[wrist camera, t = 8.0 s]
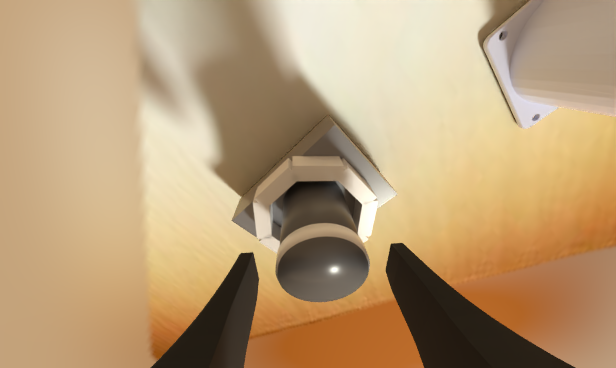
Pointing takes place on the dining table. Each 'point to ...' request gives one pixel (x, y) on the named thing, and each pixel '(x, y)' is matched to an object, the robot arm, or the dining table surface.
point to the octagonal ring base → (315, 167)
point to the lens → (319, 244)
